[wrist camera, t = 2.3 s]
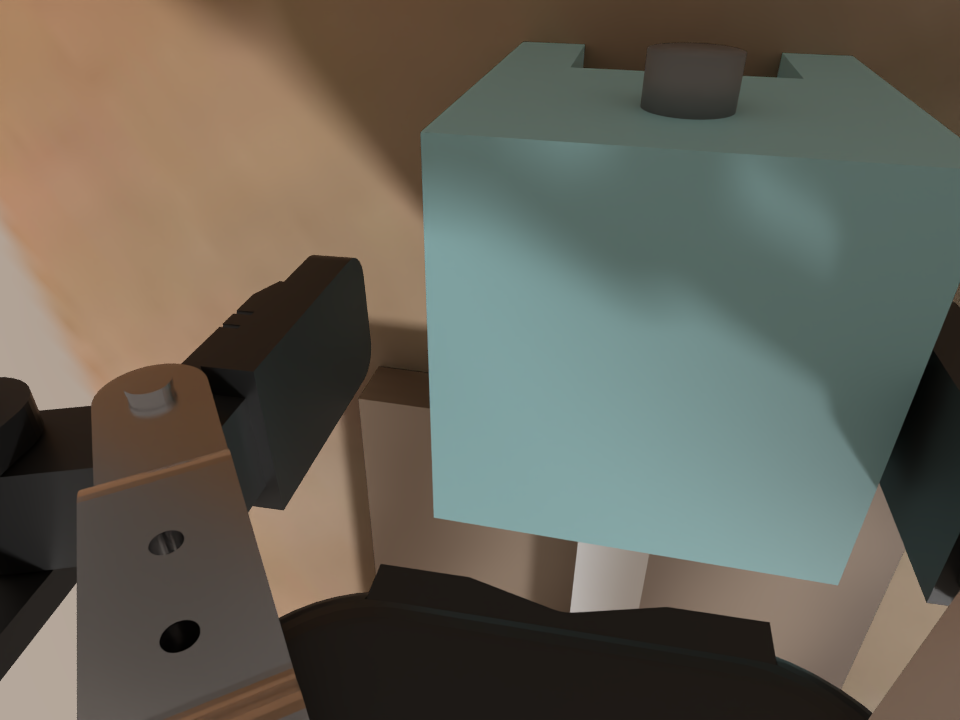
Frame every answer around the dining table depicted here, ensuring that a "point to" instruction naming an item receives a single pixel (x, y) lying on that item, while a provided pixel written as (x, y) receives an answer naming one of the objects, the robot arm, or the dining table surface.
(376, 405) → the cleat board
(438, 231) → the cabinet block
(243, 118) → the dining table surface
